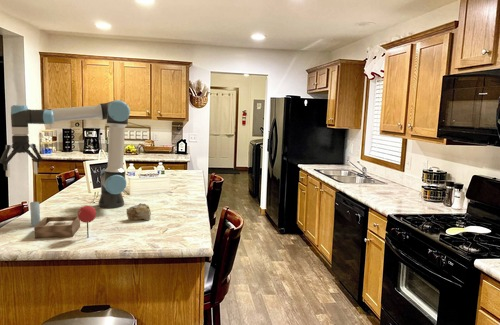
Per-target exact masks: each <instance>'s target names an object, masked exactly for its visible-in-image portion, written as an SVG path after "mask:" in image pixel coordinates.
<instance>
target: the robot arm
mask: <svg viewBox="0 0 500 325" xmlns="http://www.w3.org/2000/svg"><path fill="white" fill-rule="evenodd" d="M130 114H131V109H130V106H128V104H127V103H126V102H125V101H122V100H118V99H117V100H116V99H115V100H112V101H107V102H104V103H98V104H97V105H89V106H85V105H84V106H72V107H61V108H60V107H59V108H48V109H47V108H45V109H44V108H43V109H31V108H30V109H29V108H28V105H21V104H20V105H18V104H16V105H10V121H11V125H10V126H11V135H12V136H11V143H12V144H5V147H4V151H3V153H2V155H1V157H0V164H2V165H3V171H5V177H7V178H10V177H11V173H10V172H11V171H10V164H9V162H10V161H11V160H12V159H13V158H14V157H15V155H16V154H21V153H23V154H25V153H26V154H27V155H28V156H29V157H30V158H31V159H32V160H33V174H34V175H38V174H39V172H38V168H39V167H40V162H41V161H43V157H42V156H41V154H40V152H39V151H38V149H37V145H36V144H35V143H29V142H30V136H29V133H30V132H29V125H30V124H31V125H53V124H54V123H59V122H61V123H62V122H69V121H70V122H71V121H83V120H84V121H85V120H93V119H95V120H96V119H100V121H101V120H102V121H103V120H104V121H105V120H106V125H108V149H107V150H108V152H107V167H106V168H105V169H101V170H100V175H99V176H100V192H101V193H100V197H99V200H98V207H99V208H102V209H115V208H116V209H117V208H120V207H121V208H122V207H123V206H125V200H124V197H123V195H122V193H123V192H124V191H125V189H126V188H127V179H126V170H125V169H124V156H125V155H124V153H125V152H124V151H125V137H126V136H125V135H126V134H125V132H126V131H125V130H126V127H127V126H128V125H129V124H128V123H129V117H130ZM11 148H12V150H11ZM30 148H31V149H32V151H33V153H32V151H31V150H30ZM10 150H11V152H10ZM9 152H10V153H9ZM8 154H9V155H8Z"/></svg>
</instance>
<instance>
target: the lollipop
mask: <svg viewBox="0 0 500 325" xmlns="http://www.w3.org/2000/svg"><path fill="white" fill-rule="evenodd" d="M77 216H78V218H79V220H80V222H82V223H85V224H86V231H87V232H86V235H87V236H86V237H87V239H88V238H90V236H89V223H91V222H93V221H94V220H95V219H96V217H97V210H96V208H94V207H93V206H91V205H83V206H82V207H80V208H79V210H78V212H77Z"/></svg>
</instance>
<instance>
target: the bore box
mask: <svg viewBox="0 0 500 325" xmlns="http://www.w3.org/2000/svg"><path fill="white" fill-rule="evenodd" d="M33 228H34V229H33V230H34V231H33V232H34V239H50V238H51V239H55V238H73V237H74V235H76V234H77V231H78V230H79V229H80V228H81V221H80V220H79V218H78V215H77V216H75V215H73V216H45V217H44V218H43V219H41V220H40V222H39V223H38V224H37V225H36V226H35V227H33Z"/></svg>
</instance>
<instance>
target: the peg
mask: <svg viewBox="0 0 500 325" xmlns="http://www.w3.org/2000/svg"><path fill="white" fill-rule="evenodd" d="M29 204H30V205H29V207H30V208H29V209H30V225H31V226H30V227H31V228H34V227H35V226H36V225H37V224H38V223H39V222H40V221H41V214H40V213H41V212H40V211H41V210H40V201H31V202H29Z"/></svg>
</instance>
